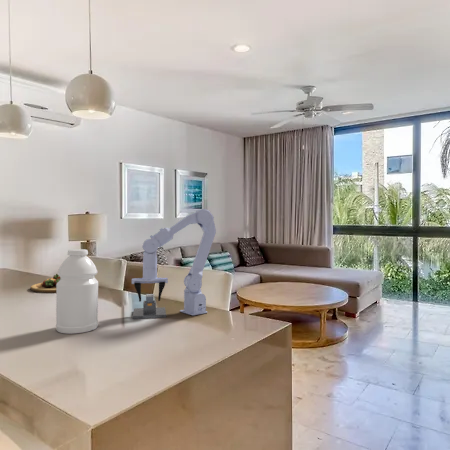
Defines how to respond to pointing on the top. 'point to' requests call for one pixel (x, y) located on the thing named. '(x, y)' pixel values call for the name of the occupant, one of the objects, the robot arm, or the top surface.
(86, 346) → the top surface
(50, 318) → the top surface
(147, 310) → the stand base
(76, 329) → the bottle
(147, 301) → the column
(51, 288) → the wooden plate with food
